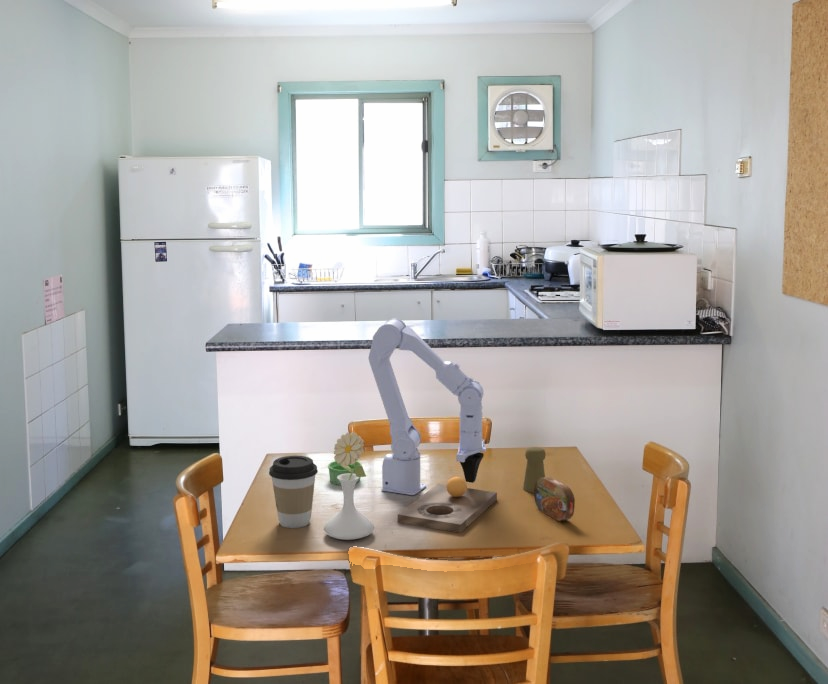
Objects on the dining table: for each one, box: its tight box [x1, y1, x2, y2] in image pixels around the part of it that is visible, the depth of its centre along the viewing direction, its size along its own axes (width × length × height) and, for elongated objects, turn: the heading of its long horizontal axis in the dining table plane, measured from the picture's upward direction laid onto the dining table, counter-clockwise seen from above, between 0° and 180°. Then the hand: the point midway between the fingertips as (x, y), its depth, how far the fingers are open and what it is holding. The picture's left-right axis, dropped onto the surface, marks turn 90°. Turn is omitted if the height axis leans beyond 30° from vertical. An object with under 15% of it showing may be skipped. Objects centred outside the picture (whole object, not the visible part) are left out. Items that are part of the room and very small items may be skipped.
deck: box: [397, 483, 498, 534], centre depth 241 cm, size 16×24×2 cm, turn 155°
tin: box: [533, 476, 576, 522], centre depth 238 cm, size 15×3×8 cm, turn 23°
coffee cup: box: [268, 455, 319, 529], centre depth 233 cm, size 11×11×15 cm
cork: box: [522, 446, 546, 494], centre depth 256 cm, size 6×6×11 cm
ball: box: [446, 476, 468, 497], centre depth 245 cm, size 5×5×5 cm
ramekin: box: [327, 460, 363, 486], centre depth 264 cm, size 9×9×4 cm
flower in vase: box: [323, 431, 375, 541], centre depth 223 cm, size 13×11×25 cm
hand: (470, 481), depth 253 cm, fingers closed
